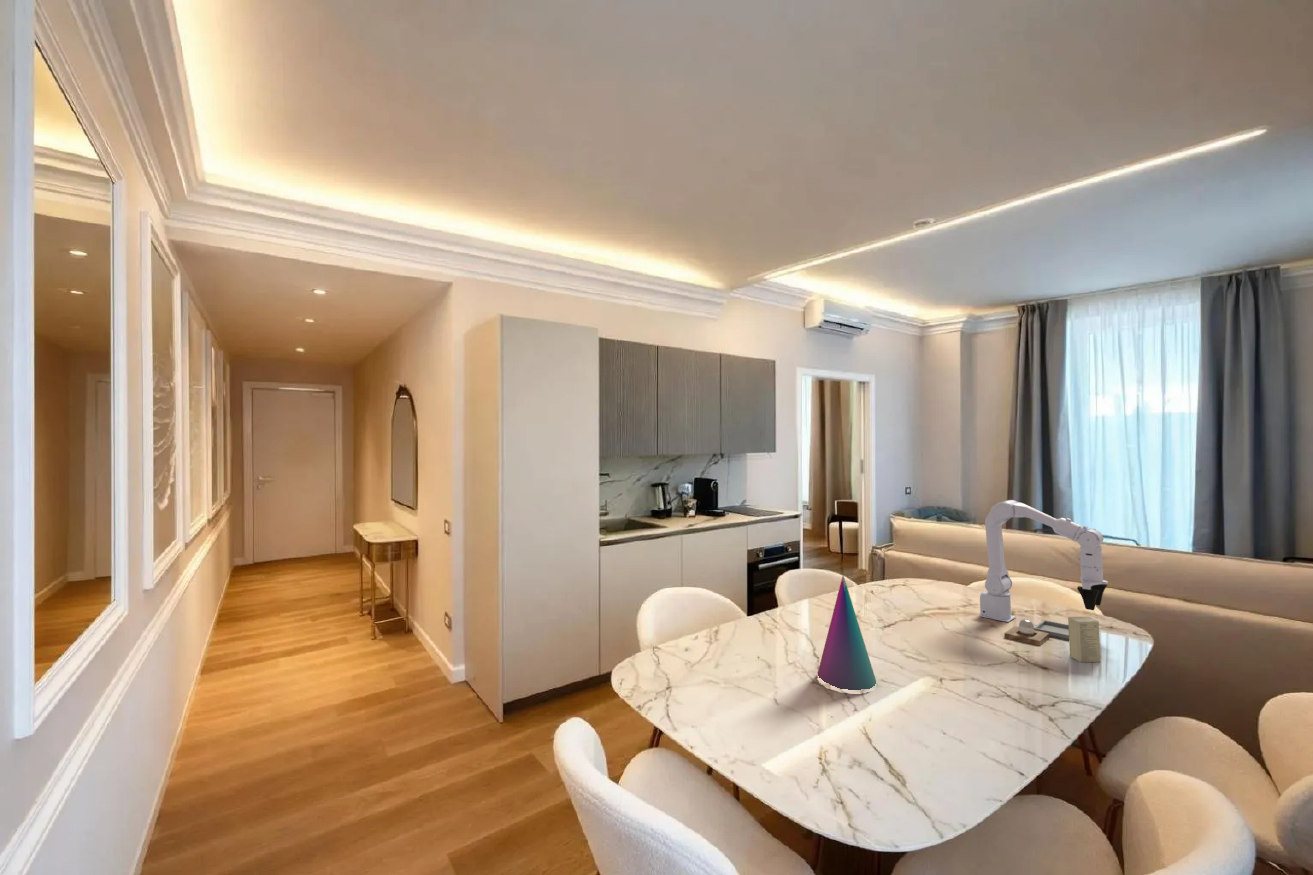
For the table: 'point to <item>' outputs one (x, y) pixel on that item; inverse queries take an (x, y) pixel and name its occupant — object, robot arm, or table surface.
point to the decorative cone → (845, 648)
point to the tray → (1053, 629)
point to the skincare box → (1084, 639)
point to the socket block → (1037, 639)
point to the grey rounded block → (1026, 628)
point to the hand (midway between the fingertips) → (1093, 607)
